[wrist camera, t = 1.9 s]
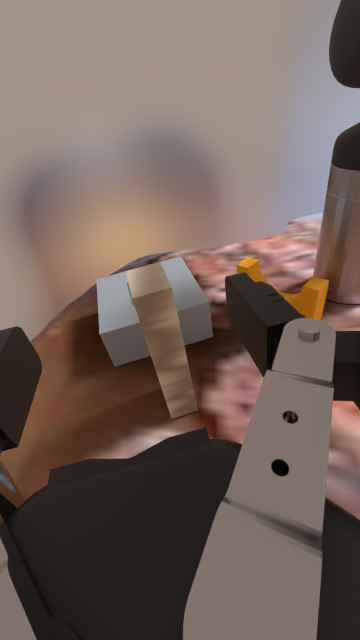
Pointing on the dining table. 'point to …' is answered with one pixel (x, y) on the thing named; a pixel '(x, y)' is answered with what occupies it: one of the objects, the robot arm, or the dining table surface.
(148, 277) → the wooden bar
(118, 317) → the grey square socket block
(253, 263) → the pipe clamp
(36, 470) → the dining table surface
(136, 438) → the dining table surface
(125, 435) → the dining table surface
